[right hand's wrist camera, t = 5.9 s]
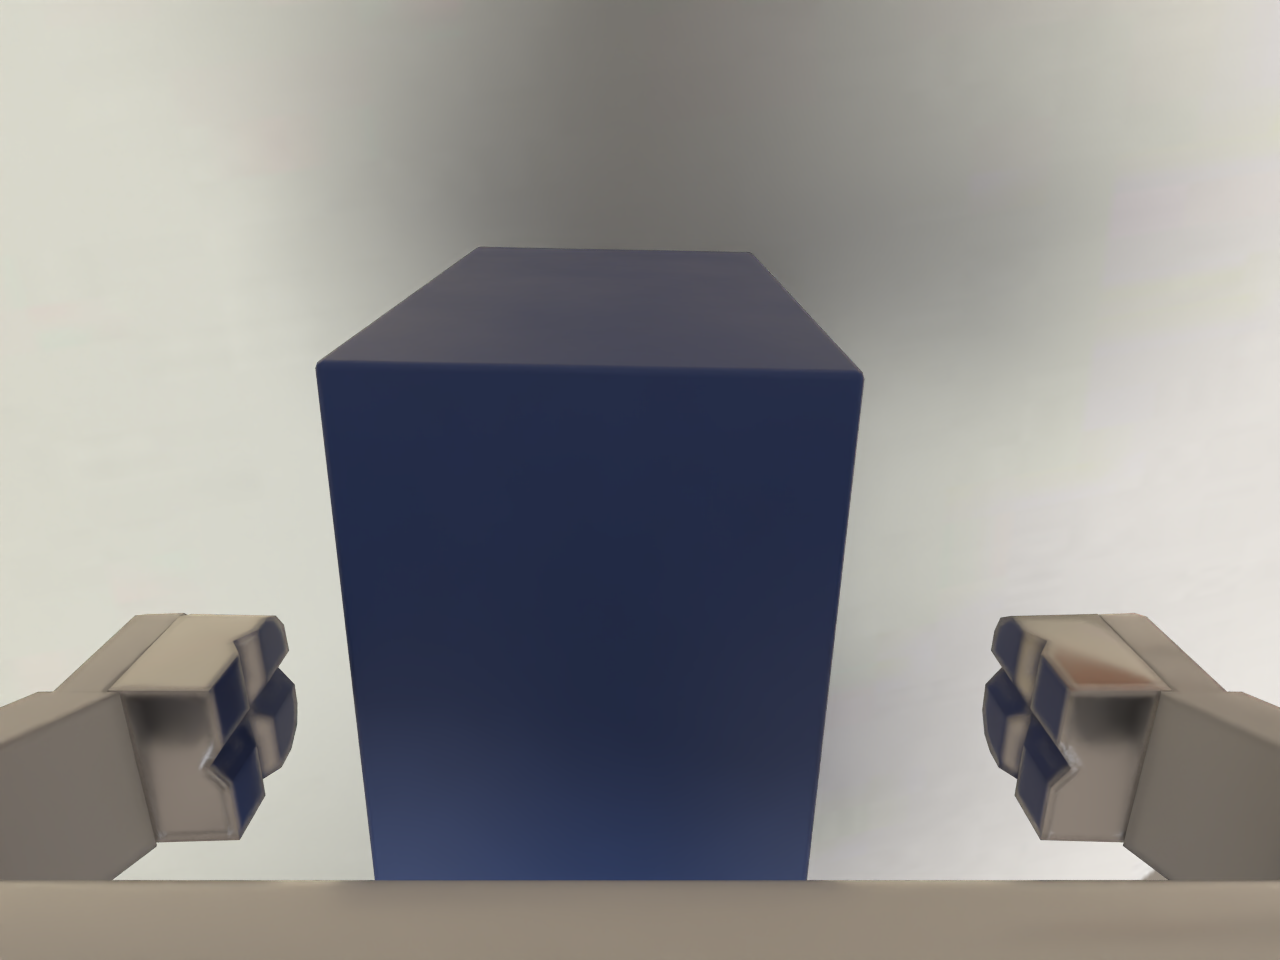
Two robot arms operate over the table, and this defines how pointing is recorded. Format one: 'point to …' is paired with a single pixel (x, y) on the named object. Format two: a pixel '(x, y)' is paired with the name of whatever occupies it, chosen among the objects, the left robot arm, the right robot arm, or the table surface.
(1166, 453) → the table surface
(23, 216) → the table surface
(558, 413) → the bar
